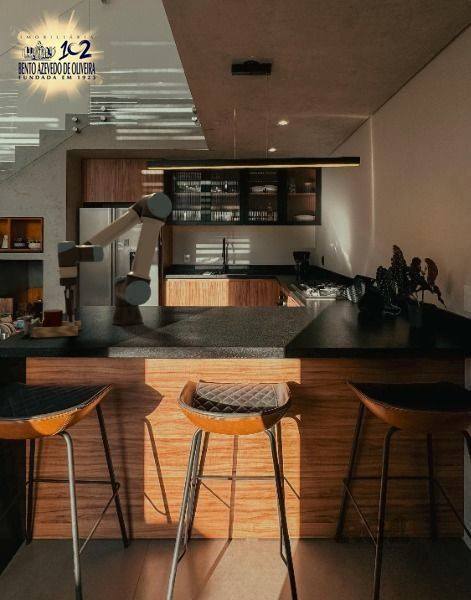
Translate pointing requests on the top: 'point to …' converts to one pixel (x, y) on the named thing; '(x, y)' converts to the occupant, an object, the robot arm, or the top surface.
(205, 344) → the top surface
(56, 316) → the mug
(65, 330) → the wooden tray
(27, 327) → the winch post
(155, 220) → the robot arm
